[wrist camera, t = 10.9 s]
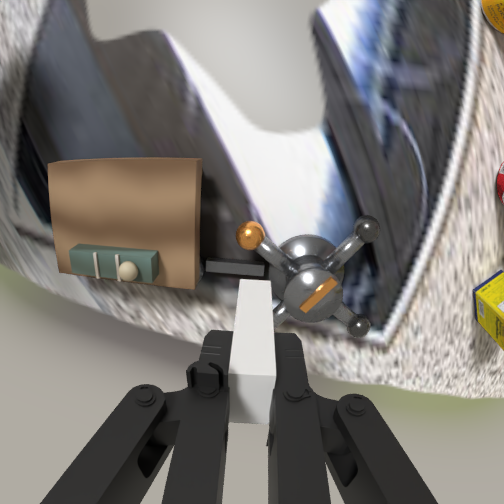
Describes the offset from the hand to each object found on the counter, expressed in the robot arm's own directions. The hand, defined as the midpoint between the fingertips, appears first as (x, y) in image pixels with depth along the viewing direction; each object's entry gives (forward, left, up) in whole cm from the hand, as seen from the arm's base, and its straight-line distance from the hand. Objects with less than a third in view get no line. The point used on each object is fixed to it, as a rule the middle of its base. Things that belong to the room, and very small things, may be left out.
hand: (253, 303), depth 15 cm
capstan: (+5, +5, -15) cm, 17 cm away
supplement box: (+7, +33, -16) cm, 38 cm away
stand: (0, -14, -16) cm, 21 cm away
